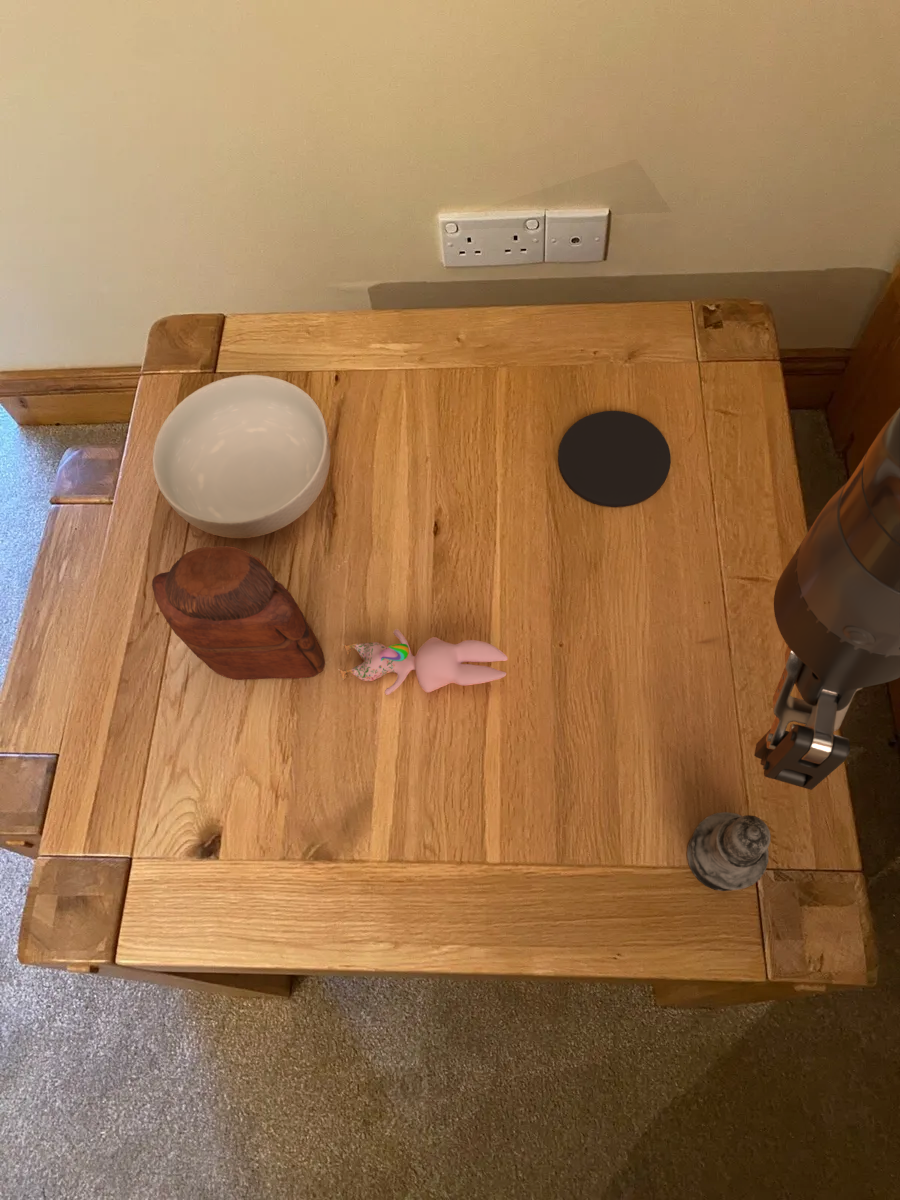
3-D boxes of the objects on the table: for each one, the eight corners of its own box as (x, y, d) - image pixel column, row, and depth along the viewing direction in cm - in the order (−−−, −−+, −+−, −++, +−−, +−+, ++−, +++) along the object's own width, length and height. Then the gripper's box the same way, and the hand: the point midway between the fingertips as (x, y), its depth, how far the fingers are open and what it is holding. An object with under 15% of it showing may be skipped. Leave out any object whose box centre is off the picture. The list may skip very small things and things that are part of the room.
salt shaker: (676, 882, 71) (705, 860, 60) (690, 811, 73) (721, 778, 62) (750, 904, 70) (794, 886, 59) (762, 832, 72) (806, 802, 61)
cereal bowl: (308, 574, 85) (291, 539, 78) (151, 540, 88) (122, 503, 81) (361, 431, 91) (350, 387, 85) (213, 403, 94) (191, 359, 88)
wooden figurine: (332, 620, 83) (288, 526, 66) (328, 685, 80) (280, 604, 64) (209, 621, 84) (134, 529, 67) (200, 686, 81) (120, 606, 65)
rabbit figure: (345, 701, 81) (507, 706, 77) (322, 679, 76) (494, 683, 72) (356, 637, 83) (513, 640, 80) (334, 612, 78) (501, 613, 74)
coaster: (640, 400, 91) (641, 396, 90) (689, 485, 86) (690, 481, 86) (540, 435, 90) (541, 431, 89) (585, 522, 85) (585, 519, 85)
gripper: (960, 748, 36) (830, 822, 51) (988, 462, 41) (863, 604, 56) (772, 697, 37) (699, 783, 52) (823, 426, 43) (743, 574, 57)
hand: (784, 690), depth 54 cm, fingers open, 8 cm apart
